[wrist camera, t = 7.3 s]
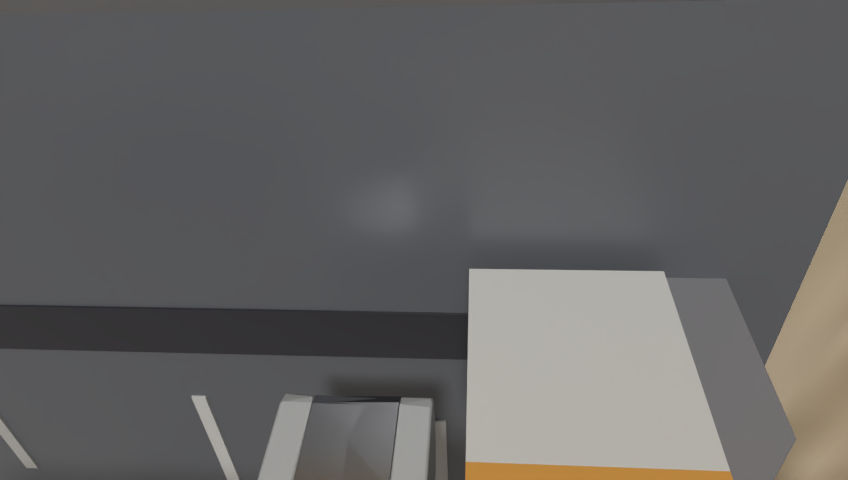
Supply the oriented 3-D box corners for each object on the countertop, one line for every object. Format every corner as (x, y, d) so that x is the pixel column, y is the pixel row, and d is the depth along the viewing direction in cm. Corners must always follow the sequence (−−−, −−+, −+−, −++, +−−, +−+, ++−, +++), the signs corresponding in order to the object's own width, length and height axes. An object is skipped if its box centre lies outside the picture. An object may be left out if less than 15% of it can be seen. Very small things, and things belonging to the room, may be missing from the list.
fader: (469, 420, 13) (465, 647, 10) (468, 268, 10) (464, 511, 7) (623, 425, 12) (672, 660, 9) (663, 271, 10) (746, 522, 7)
